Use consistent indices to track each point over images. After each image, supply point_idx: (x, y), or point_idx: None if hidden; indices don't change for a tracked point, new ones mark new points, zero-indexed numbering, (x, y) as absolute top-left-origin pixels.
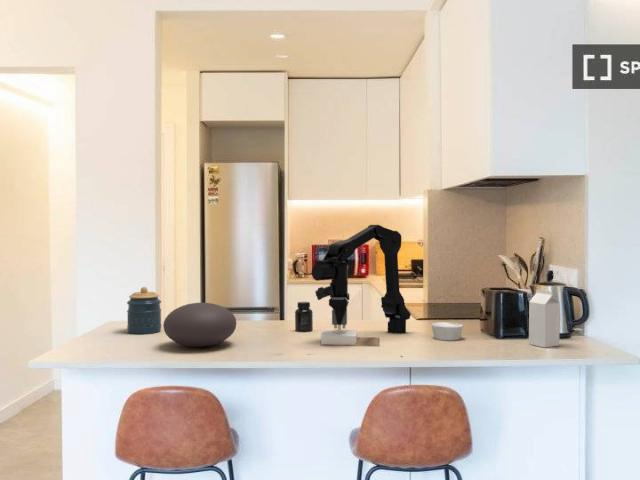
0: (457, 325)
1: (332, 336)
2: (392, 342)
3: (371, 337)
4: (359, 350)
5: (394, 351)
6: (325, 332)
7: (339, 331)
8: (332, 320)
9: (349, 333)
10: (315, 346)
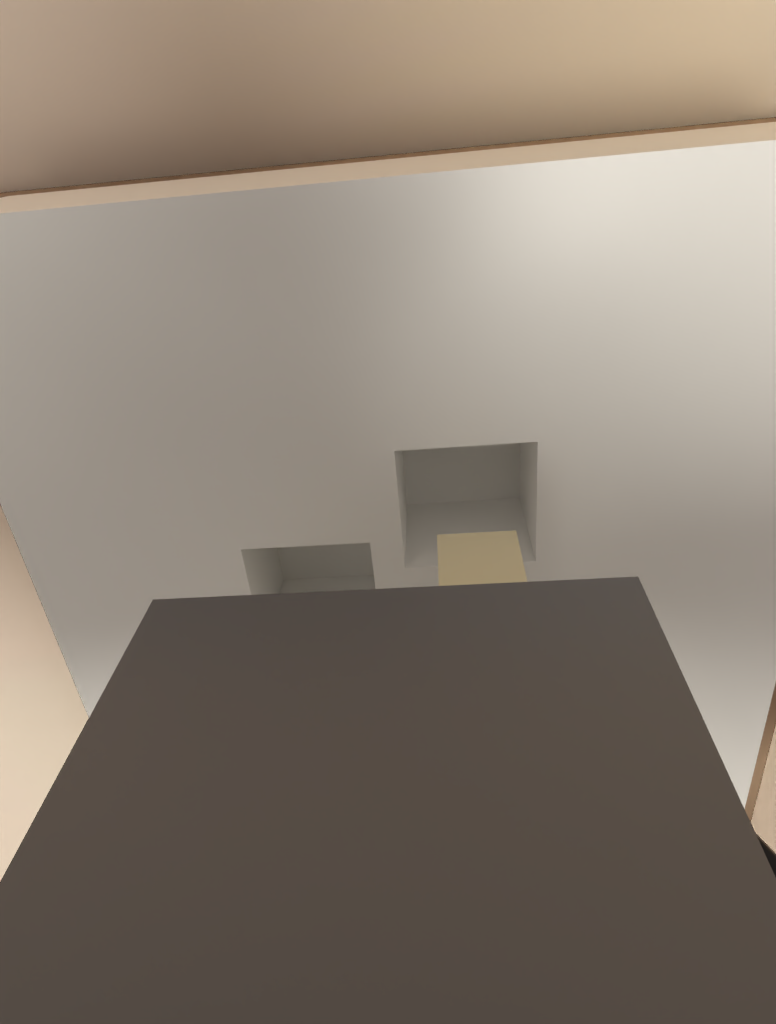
0: None
1: (6, 497)
2: None
3: None
4: (59, 740)
5: None
6: (379, 272)
7: (560, 579)
8: (106, 717)
9: None
10: (71, 42)
